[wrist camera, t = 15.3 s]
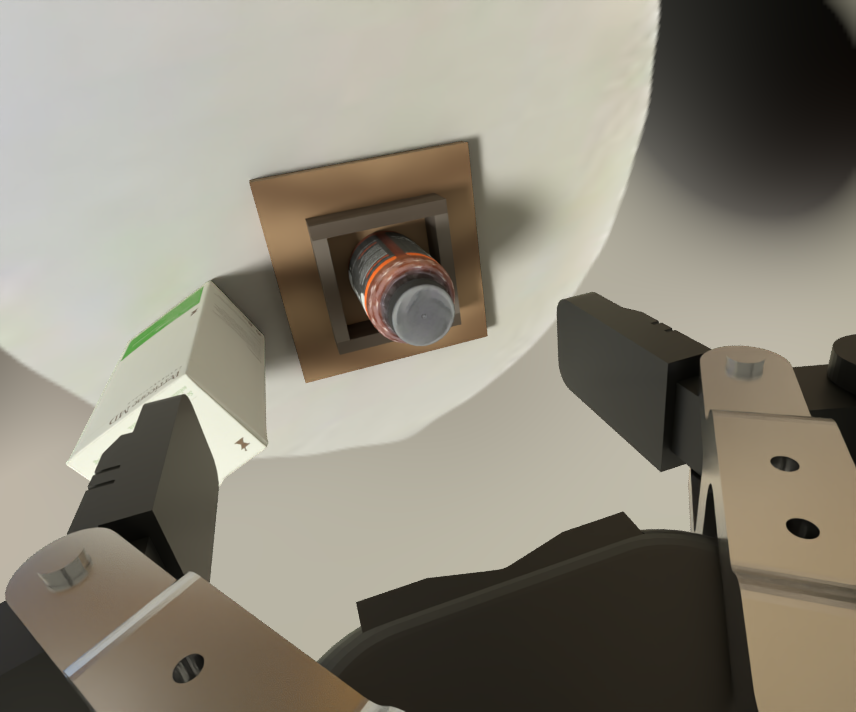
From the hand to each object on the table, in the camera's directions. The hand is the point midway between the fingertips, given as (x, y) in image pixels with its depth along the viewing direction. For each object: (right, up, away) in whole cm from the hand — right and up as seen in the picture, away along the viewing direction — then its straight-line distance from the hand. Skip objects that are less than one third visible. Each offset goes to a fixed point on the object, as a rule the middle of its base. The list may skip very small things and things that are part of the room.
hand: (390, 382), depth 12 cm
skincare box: (-17, +2, +31) cm, 35 cm away
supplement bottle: (-3, +8, +31) cm, 32 cm away
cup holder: (-3, +8, +32) cm, 33 cm away
